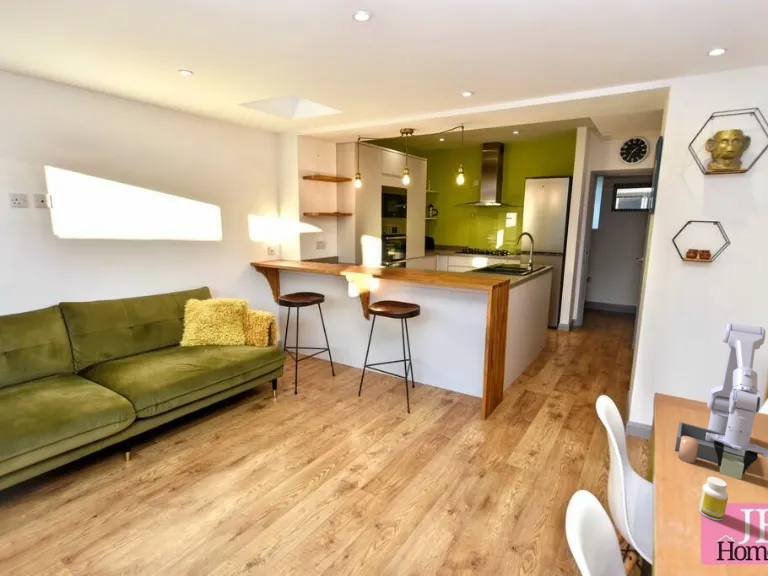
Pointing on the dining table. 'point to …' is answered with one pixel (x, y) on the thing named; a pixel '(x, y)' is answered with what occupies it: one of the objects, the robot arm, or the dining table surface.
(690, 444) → the terracotta cylinder
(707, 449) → the tote
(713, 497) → the supplement bottle
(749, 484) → the dining table surface
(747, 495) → the dining table surface
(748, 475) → the dining table surface
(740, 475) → the green block
